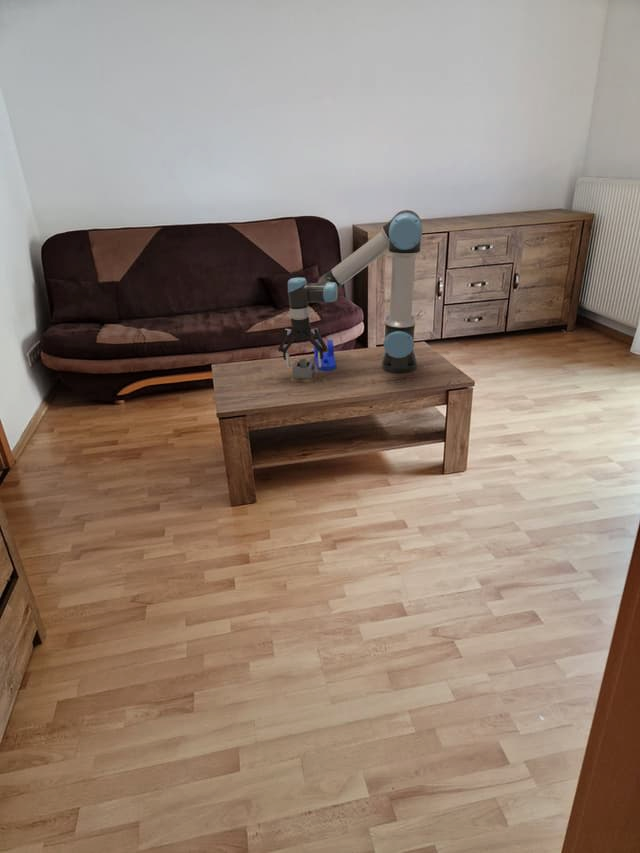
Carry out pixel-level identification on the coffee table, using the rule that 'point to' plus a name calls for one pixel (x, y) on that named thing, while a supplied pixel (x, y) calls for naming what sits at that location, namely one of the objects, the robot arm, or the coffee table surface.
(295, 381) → the peg stand
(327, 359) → the bracket
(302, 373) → the gray square frame
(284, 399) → the coffee table surface
